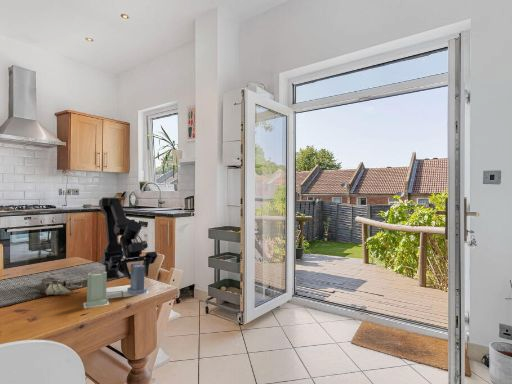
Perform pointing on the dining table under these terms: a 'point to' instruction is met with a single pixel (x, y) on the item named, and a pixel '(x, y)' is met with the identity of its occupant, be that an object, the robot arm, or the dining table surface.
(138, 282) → the blue flanged post
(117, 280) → the dining table surface
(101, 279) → the pale green upright block
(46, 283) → the figurine
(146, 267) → the robot arm
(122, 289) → the card
